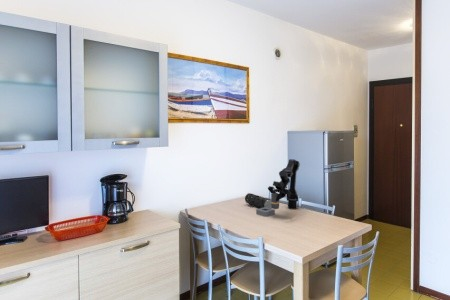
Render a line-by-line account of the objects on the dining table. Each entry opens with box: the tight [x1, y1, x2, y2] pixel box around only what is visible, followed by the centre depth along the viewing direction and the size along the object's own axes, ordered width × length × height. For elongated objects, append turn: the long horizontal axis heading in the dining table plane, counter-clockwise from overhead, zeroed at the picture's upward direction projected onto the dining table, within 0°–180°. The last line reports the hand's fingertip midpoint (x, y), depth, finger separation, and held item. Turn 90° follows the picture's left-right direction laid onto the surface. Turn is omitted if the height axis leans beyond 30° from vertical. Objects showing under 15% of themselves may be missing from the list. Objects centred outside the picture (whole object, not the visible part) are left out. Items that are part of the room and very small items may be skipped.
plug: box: [270, 192, 280, 210], centre depth 228 cm, size 4×4×11 cm
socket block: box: [255, 207, 276, 218], centre depth 236 cm, size 10×10×4 cm
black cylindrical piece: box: [244, 192, 272, 209], centre depth 259 cm, size 10×28×10 cm, turn 31°
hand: (274, 200), depth 227 cm, fingers closed on plug, 4 cm apart
